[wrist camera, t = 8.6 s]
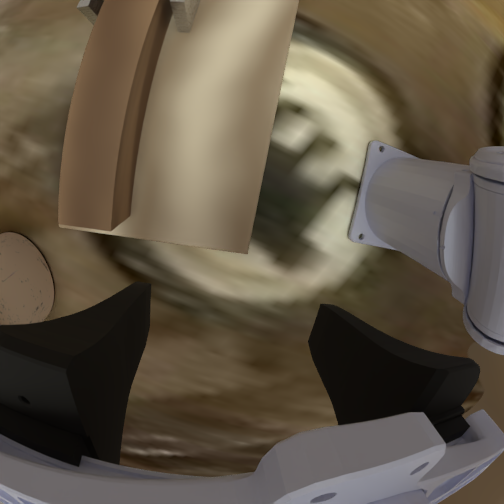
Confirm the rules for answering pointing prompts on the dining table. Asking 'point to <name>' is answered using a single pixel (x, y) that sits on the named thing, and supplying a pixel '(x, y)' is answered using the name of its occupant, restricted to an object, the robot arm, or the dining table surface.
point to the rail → (110, 113)
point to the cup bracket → (181, 3)
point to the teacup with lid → (23, 282)
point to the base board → (210, 126)
